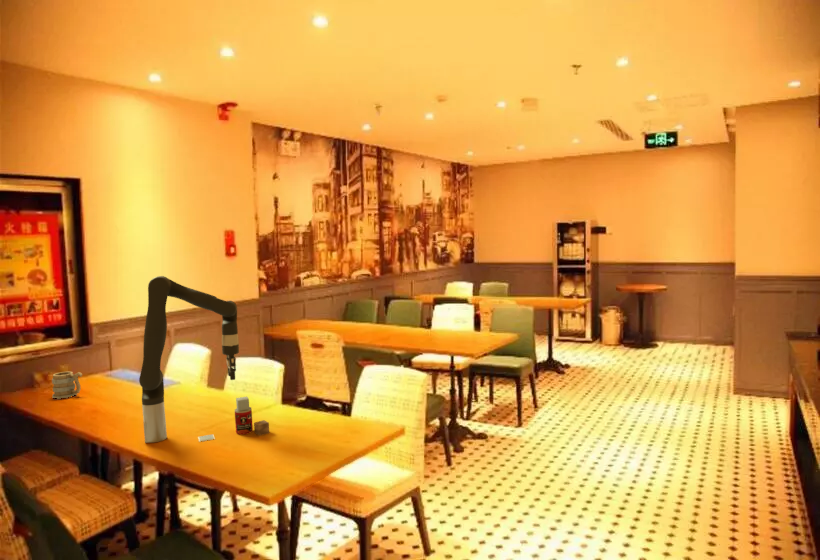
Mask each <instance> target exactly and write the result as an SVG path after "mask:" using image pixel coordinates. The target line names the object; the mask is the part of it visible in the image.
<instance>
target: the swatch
mask: <svg viewBox="0 0 820 560" xmlns="http://www.w3.org/2000/svg"><path fill="white" fill-rule="evenodd" d="M197 439H198V442H199V443H201V441H202V442H207V440H208V441H213V439H214V440H216V438H215V435H214V434H206V435H201V436H197Z"/></svg>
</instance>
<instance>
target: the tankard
mask: <svg viewBox="0 0 820 560" xmlns="http://www.w3.org/2000/svg"><path fill="white" fill-rule="evenodd" d="M79 377H80V378H82V377H83V373H82V372H80V371H78V372H76V373H75V374H74V372H73V371H61V372H56V373H53V374H52V379H51V384H52V385H53V386H52V392H53V394H52V396H51V397H52V398H57V399H56V400H62V399H61V398H66V399H69V398H68V397H71V396H74V395H76V396H77V395H78V394H80V391H81V384H80V381H79ZM74 397H75V396H74ZM71 398H72V397H71Z"/></svg>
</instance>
